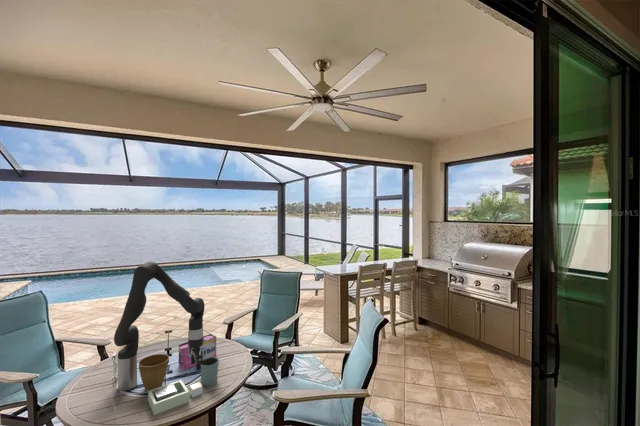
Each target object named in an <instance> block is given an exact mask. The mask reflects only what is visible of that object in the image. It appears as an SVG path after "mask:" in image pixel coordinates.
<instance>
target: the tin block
mask: <svg viewBox="0 0 640 426" xmlns="http://www.w3.org/2000/svg"><path fill="white" fill-rule="evenodd" d="M175 395H177V390H176V389H175V387H174V385H170V386H167V387H165V388H162V389H159V390H156V391H154V398H155V400H156V402H158V401H161V400H163V399H166V398H169V397H172V396H175Z"/></svg>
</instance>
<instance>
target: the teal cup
mask: <svg viewBox="0 0 640 426" xmlns="http://www.w3.org/2000/svg"><path fill="white" fill-rule="evenodd" d="M219 361H220V359H219V358H218V357H210V358H206V359H203V362H202V363H201V369H200V380H201V381H200V384H201V385H202V387H211V386H214V385H215V384H216V383H217V382H218V373H219V372H218V371H219V369H218V368H219Z"/></svg>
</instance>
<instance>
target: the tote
mask: <svg viewBox="0 0 640 426" xmlns="http://www.w3.org/2000/svg"><path fill="white" fill-rule="evenodd" d="M170 385H174V387H175V389H176V390H177V395H175V396H172V397H169V398H166V399H163V400H161V401H158V402H156V400H155V398H154V391H156V390H159V389H162V388H165V387H167V386H170ZM147 393H148V394H147V402H148V404H149V406H150V409H151V411H152V414H153V416H155V415H158V414H161V413H163V412H167V411H169V410H171V409H174V408H176V407H179V406H182V405H184V404H187V403H189V402H190V390H189V389H188V387H187V386H186V385H185V384H184V381H183V380H182V379H180V380H177V381H174V382H171V383H168V384H165V385H162V386H161V387H159V388H156V389H153V390H150V391H147Z"/></svg>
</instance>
